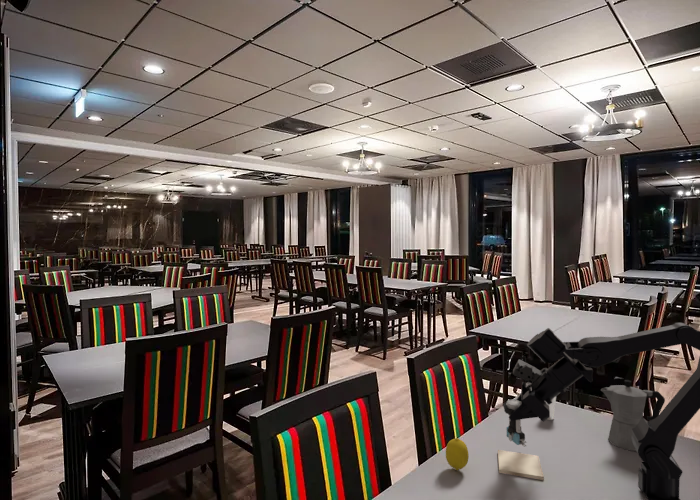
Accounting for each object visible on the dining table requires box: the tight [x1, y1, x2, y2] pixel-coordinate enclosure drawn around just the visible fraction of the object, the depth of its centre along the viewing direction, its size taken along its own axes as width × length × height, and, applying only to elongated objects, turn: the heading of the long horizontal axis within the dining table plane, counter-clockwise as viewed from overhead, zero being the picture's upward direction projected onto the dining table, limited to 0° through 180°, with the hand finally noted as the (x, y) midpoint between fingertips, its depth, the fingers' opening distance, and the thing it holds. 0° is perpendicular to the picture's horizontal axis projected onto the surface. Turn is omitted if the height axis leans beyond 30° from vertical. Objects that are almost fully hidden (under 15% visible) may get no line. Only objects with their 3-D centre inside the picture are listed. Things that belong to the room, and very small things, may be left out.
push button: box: [502, 398, 528, 447], centre depth 103 cm, size 7×5×10 cm
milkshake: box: [546, 396, 557, 421], centre depth 131 cm, size 4×5×10 cm
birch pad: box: [497, 449, 545, 481], centre depth 103 cm, size 10×10×1 cm
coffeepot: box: [600, 379, 666, 452], centre depth 115 cm, size 15×9×18 cm, turn 72°
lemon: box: [445, 437, 469, 471], centre depth 101 cm, size 6×6×8 cm
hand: (510, 414), depth 104 cm, fingers closed on push button, 5 cm apart
